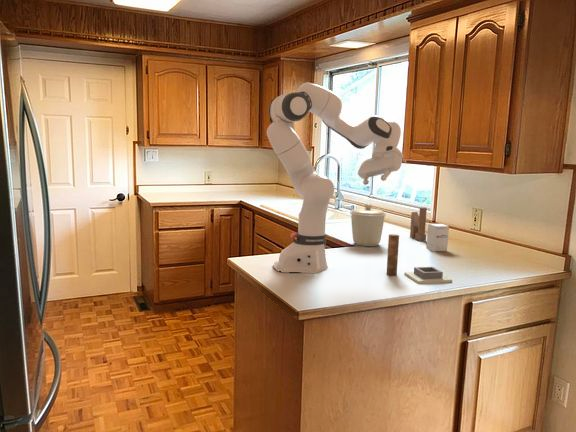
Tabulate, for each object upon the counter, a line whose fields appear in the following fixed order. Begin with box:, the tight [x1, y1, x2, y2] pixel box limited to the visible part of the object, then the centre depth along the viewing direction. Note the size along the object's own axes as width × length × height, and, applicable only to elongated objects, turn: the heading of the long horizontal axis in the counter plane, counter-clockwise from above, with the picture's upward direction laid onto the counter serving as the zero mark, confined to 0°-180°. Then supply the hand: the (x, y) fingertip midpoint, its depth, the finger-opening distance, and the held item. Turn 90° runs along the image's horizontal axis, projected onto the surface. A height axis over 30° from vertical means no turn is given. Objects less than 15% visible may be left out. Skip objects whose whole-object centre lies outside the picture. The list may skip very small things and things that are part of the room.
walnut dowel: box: [386, 233, 400, 277], centre depth 193 cm, size 4×4×16 cm
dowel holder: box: [404, 266, 453, 285], centre depth 190 cm, size 14×12×4 cm
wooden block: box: [409, 206, 428, 242], centre depth 263 cm, size 4×11×18 cm, turn 16°
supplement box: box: [426, 223, 450, 252], centre depth 239 cm, size 7×7×13 cm
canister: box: [349, 203, 387, 247], centre depth 247 cm, size 18×18×21 cm
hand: (374, 181), depth 198 cm, fingers open, 8 cm apart
